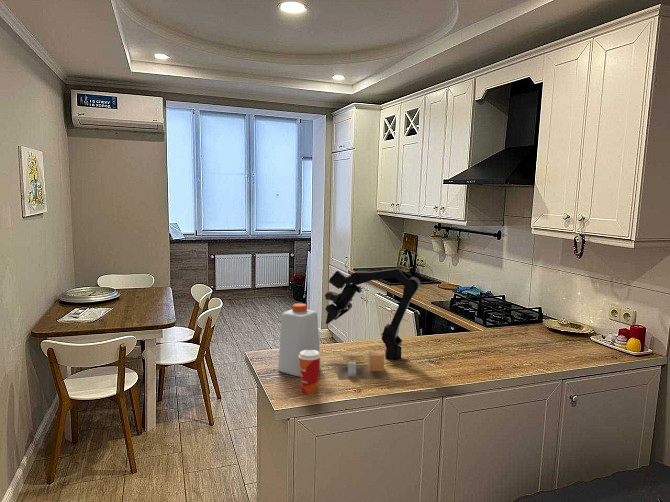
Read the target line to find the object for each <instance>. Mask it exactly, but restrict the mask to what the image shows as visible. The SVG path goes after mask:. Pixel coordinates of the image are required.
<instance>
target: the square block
mask: <svg viewBox="0 0 670 502" xmlns="http://www.w3.org/2000/svg"><path fill="white" fill-rule="evenodd" d="M367 363H368V365H367V366H368V367H369V370H370V371H384V369H385V367H384V366H385V365H384V363H385V354H384V352H383V351H382V350H378V351H377V350H375V351H373V350H371V351H368V362H367Z"/></svg>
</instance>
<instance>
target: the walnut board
mask: <svg viewBox="0 0 670 502" xmlns="http://www.w3.org/2000/svg"><path fill="white" fill-rule="evenodd" d="M335 368H336V374H337V378H338V380H339V381H340V380H341V381H342V380H389V376H388V374H387V372H386V370H385V368H384V371H370V370H369V367H368V365H361V366H360V365H356V378H348V365H347V366H346V365H345V366H344V365H342V366H335Z"/></svg>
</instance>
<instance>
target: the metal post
mask: <svg viewBox="0 0 670 502" xmlns="http://www.w3.org/2000/svg"><path fill="white" fill-rule="evenodd" d="M347 366H348V378H356V366H357V363H356V361H347Z"/></svg>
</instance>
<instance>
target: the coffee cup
mask: <svg viewBox="0 0 670 502" xmlns="http://www.w3.org/2000/svg"><path fill="white" fill-rule="evenodd" d="M299 358H300V376H301V377H300V390H301V393H302V394H304V395H308V396H309V395H314V394H317V393H318V390H319V389H318V388H319V373H320V368H319V361H320V362H321V354H320V353H319V351H317V350H303V351H301V352H300V355H299Z"/></svg>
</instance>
